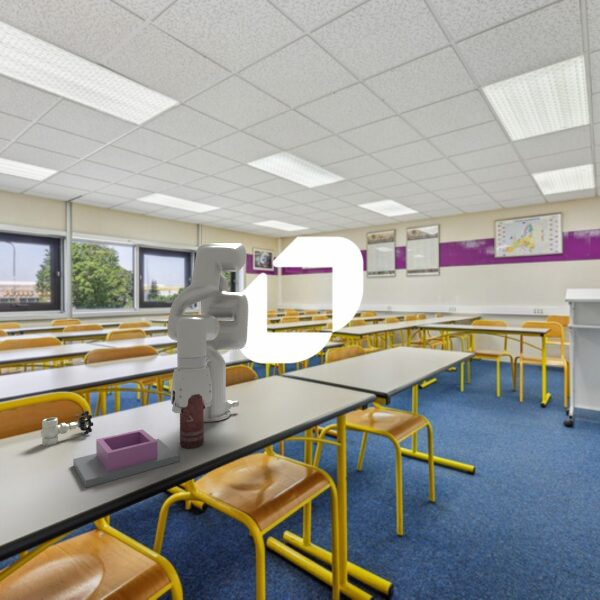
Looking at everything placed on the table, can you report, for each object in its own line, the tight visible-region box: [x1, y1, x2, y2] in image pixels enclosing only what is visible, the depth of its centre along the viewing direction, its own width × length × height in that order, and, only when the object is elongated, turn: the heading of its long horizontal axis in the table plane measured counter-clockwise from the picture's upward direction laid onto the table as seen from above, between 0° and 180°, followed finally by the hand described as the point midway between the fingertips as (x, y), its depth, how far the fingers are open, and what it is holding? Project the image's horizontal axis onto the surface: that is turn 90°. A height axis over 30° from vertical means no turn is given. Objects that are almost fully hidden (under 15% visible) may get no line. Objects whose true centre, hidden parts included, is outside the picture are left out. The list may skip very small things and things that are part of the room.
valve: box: [40, 410, 94, 447], centre depth 108 cm, size 7×7×12 cm
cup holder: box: [72, 428, 180, 489], centre depth 92 cm, size 20×14×6 cm
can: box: [179, 394, 205, 450], centre depth 104 cm, size 6×6×14 cm
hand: (192, 431), depth 104 cm, fingers closed
